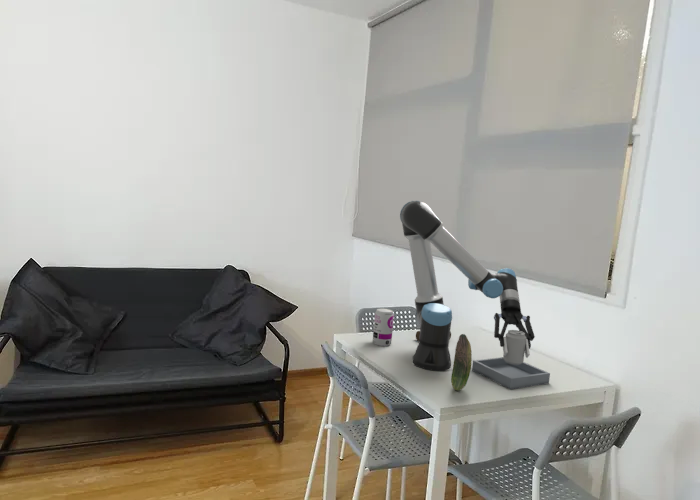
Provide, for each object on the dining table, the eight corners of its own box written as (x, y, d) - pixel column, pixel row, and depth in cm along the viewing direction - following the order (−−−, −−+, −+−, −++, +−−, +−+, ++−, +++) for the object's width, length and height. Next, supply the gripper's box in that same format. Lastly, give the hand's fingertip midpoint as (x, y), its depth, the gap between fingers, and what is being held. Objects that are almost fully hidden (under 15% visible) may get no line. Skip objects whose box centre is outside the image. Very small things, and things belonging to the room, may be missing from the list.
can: (520, 367, 193) (524, 335, 191) (500, 362, 197) (503, 331, 195) (525, 362, 199) (528, 331, 198) (505, 357, 203) (509, 327, 202)
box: (510, 389, 185) (511, 378, 184) (471, 370, 202) (472, 360, 202) (548, 383, 195) (550, 373, 194) (509, 365, 212) (510, 356, 212)
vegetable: (457, 385, 184) (463, 331, 182) (472, 391, 180) (478, 335, 177) (447, 388, 180) (453, 332, 178) (461, 395, 176) (468, 337, 173)
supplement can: (394, 343, 229) (397, 310, 227) (385, 347, 222) (388, 313, 220) (378, 339, 233) (381, 307, 232) (369, 343, 226) (372, 309, 225)
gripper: (532, 310, 211) (541, 361, 197) (482, 306, 211) (487, 357, 197) (538, 300, 205) (547, 352, 191) (486, 296, 206) (491, 348, 191)
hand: (516, 354), depth 194 cm, fingers closed on can, 7 cm apart
